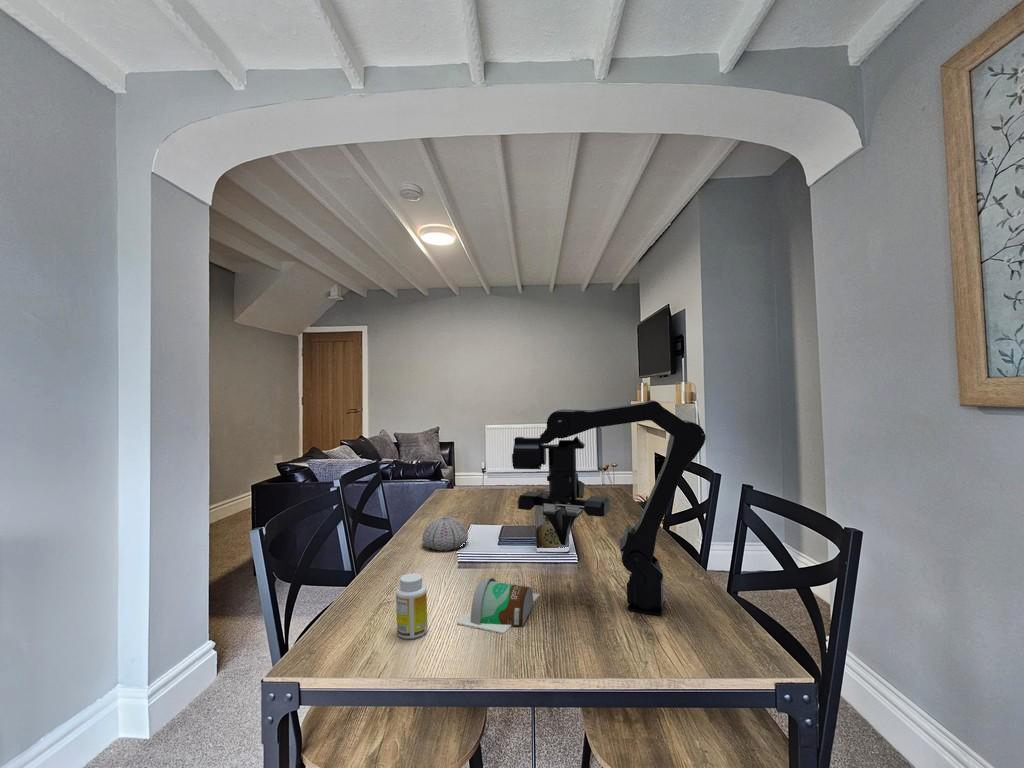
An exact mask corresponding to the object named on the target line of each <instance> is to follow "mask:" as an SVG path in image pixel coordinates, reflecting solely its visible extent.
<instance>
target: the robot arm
mask: <svg viewBox="0 0 1024 768" xmlns="http://www.w3.org/2000/svg"><path fill="white" fill-rule="evenodd" d="M644 421H651V422H652V423H654V424H655V425H656V426H658V427H660V428H661V429H663V430H664V431H665V432H667V433H668V434H669V436H668V441H667V448H666V452H665V458H664V462H663V464H662V466H661V469H660V471H659V472H658V473H659V474H658V476H657V478H656V481H655V483H654V485H653V487H652V490H651V492H650V494H649V496H648V499H647V501H646V503H645V506H644V507H643V510H642V512H641V514H640V517H639V519H638V521H637V522H636V523H635V525H634V526H633V527H632V526H631V525H630V524H626V526H625V530H624V532H623V533H624V534H623V536H622V537H621V538H620V539H619V550H620V554H621V562H622V565H623V567H624V568H625V570H626V571H628V572H629V573H630V575H629V576H628V577H629V578H628V580H627V582H626V602H627V603H626V604H628V606H627V610H628V611H630V612H635V613H643V614H649V615H653V616H661V615H662V614H663V611H664V608H665V605H666V600H665V599H664V598H665V597H664V596H665V595H664V591H665V590H664V574H663V571H662V567H661V565H660V561H659V559H658V558H657V557H656V556H655V555H654V553H655V549H656V541H657V536H658V530H659V528H660V527H661V524H662V522H663V520H664V517H665V515H666V513H667V511H668V508H669V506H670V503H671V501H672V499H673V497H674V496H675V495H674V494H675V492H676V490H677V487H678V485H679V483H680V480H681V479H682V477H683V474H684V472H685V470H686V469H687V467H688V466H689V465H690V464H691V462H692V461H693V460H694V459H695V458H696V456H697V455H698V453H699V452H700V451H701V449H703V446H704V445H705V441H706V433H705V431H704V428H702V427H701V425H699V424H698V423H696V422H693V421H690V420H687V419H684V420H683V419H681V418H680V417H678V416H677V415H675V414H674V413H673V412H671V411H669V410H668V409H667V408H665V407H664V406H662V404H661V403H660V402H658V401H656V400H649V399H648V400H646V401H644V402H636V403H632V404H624V405H623V404H622V405H618V406H611V407H605V408H597V409H589V410H587V409H563V408H562V409H558V410H556V411H553V412H552V413H550V414H549V416H548V417H547V421H546V428H545V430H544V431H543V432H542V433H540V436H539V437H524V436H516V437H515V438H514V440H513V441H514V444H513V451H512V454H511V463H512V468H513V470H541V469H542V466H544V465H546V464H547V449H548V475H547V476H546V481H547V482H548V489H549V495H548V496H547V497H544V495H543V492H536V491H529V490H528V491H526V492H524V493H523V494H520V495H519V496H518V499H517V509H518V510H523V511H524V510H525V511H531V510H532V509H533V508H534V507H535V505H538V506H544V512H543V515H545V516H547V517H548V519H549V521H550V522H551V524H552V526H553V527H554V530H555V532H556V534H557V536H558V538H559V541H560V543H561V545H566V544H567V541H568V537H569V538H570V534H571V531H572V528H573V524H574V523H575V520H576V518H578V517H580V515H582V514H583V513H585V514H586V515H587V516H588V517H589V516H590V517H598V518H599V517H605V516H606V515H608V513H609V512H610V511H611V501H610V499H609V498H608V497H607V496H599V495H597V496H596V495H595V496H594V495H590V496H589V497H588V498H586V499H584V494H585V482H582V481H581V480H579V474H578V473H579V472H577V453H576V452H577V450H583V449H584V448H585V446H586V445H585V444H586V443H584V442H583V441H581V440H580V439H579V437H578V436H575V437H574V438H573V439H566V438H569V437H572V436H574V435H578V434H580V433H581V434H582V433H583V432H587V431H589V430H592V429H596V428H603V427H609V426H616V425H617V426H618V425H624V424H632V423H638V422H644ZM555 439H559V440H558V443H557V444H550V443H551V442H553V441H554V440H555ZM555 502H558V503H555ZM559 502H560V503H559ZM567 503H568V504H567ZM564 508H566V512H565V513H564Z"/></svg>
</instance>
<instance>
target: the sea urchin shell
mask: <svg viewBox="0 0 1024 768" xmlns="http://www.w3.org/2000/svg"><path fill="white" fill-rule="evenodd" d="M421 537H422V538H421V541H422V543H423V544H424V546H425V547H427V548H429V549H432V550H435V551H436V550H437V551H441V552H442V551H443V552H444V551H446V552H447V551H451V550H457V549H460V548H461V547H460V546H461V545H462V544H463V543H465V542H466V541H467V542H468V539H469V532H468V529H467V528H466V527H465V526H464V524H463V523H461V522H460V521H459V520H458V519H456V518H453V517H448V516H444V517H443V516H442V517H441V518H436V519H435V520H432V521H431V522H430V523H428V525H427V526H426V527H425V528H424V530H423V532H422V536H421ZM467 542H466V543H467ZM459 547H460V548H459Z"/></svg>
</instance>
